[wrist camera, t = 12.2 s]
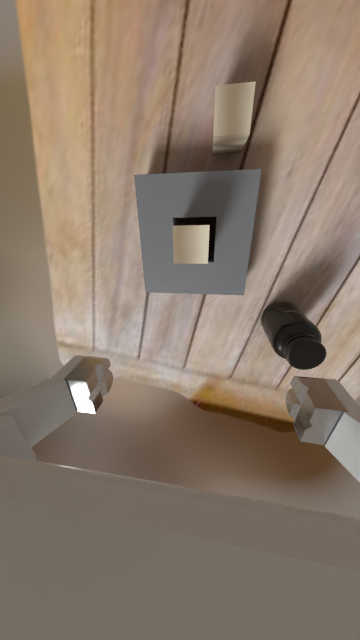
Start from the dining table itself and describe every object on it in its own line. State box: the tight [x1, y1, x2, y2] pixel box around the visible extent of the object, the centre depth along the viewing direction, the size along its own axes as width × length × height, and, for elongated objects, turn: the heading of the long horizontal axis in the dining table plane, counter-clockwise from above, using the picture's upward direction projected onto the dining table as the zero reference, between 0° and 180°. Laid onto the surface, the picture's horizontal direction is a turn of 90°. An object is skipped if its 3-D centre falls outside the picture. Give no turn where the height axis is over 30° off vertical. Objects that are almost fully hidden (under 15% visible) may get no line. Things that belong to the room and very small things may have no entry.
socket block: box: [134, 169, 262, 295], centre depth 30 cm, size 16×16×5 cm
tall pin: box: [173, 225, 210, 264], centre depth 27 cm, size 4×4×12 cm
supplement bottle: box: [261, 302, 326, 370], centre depth 31 cm, size 7×7×12 cm
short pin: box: [212, 81, 256, 154], centre depth 23 cm, size 4×4×6 cm
